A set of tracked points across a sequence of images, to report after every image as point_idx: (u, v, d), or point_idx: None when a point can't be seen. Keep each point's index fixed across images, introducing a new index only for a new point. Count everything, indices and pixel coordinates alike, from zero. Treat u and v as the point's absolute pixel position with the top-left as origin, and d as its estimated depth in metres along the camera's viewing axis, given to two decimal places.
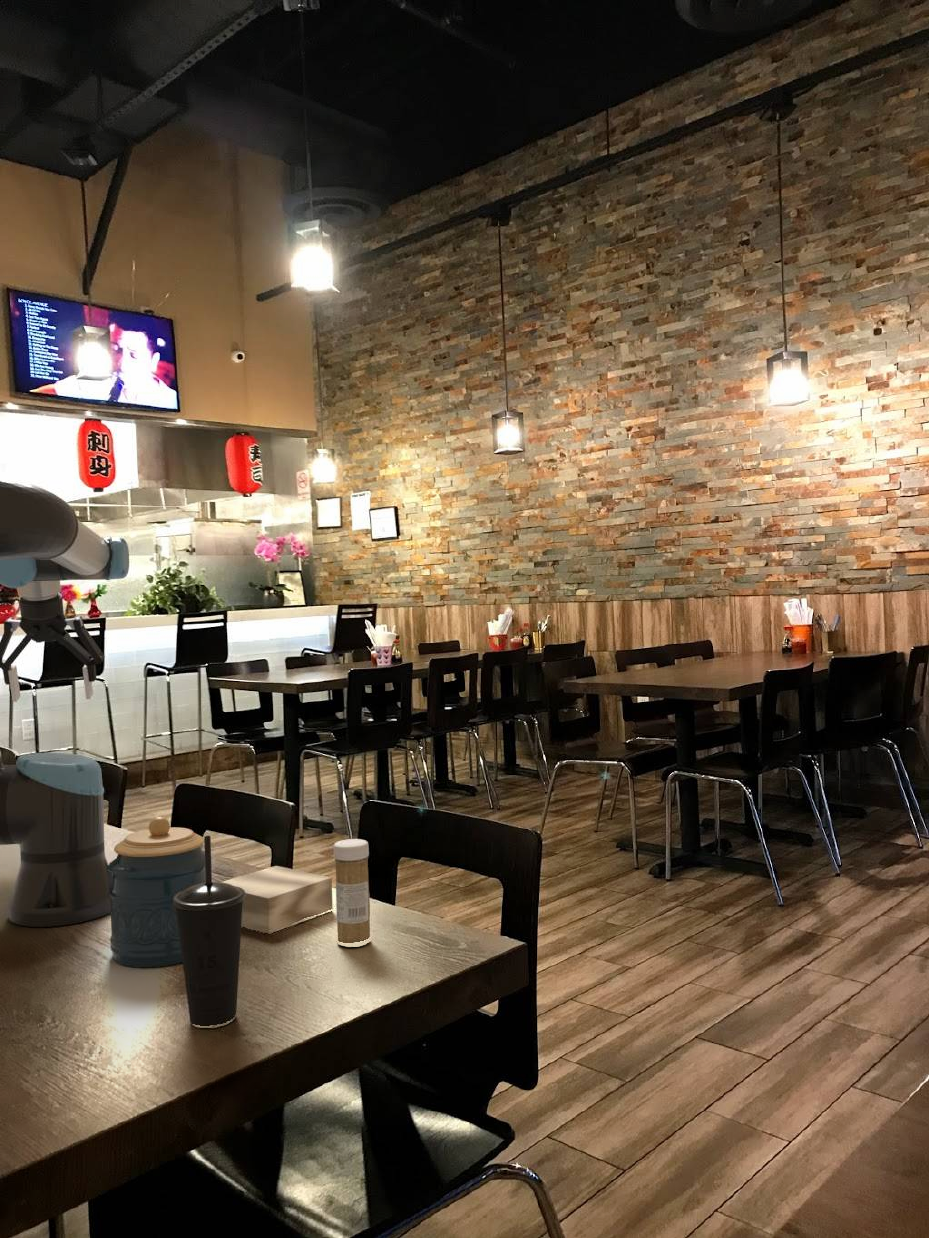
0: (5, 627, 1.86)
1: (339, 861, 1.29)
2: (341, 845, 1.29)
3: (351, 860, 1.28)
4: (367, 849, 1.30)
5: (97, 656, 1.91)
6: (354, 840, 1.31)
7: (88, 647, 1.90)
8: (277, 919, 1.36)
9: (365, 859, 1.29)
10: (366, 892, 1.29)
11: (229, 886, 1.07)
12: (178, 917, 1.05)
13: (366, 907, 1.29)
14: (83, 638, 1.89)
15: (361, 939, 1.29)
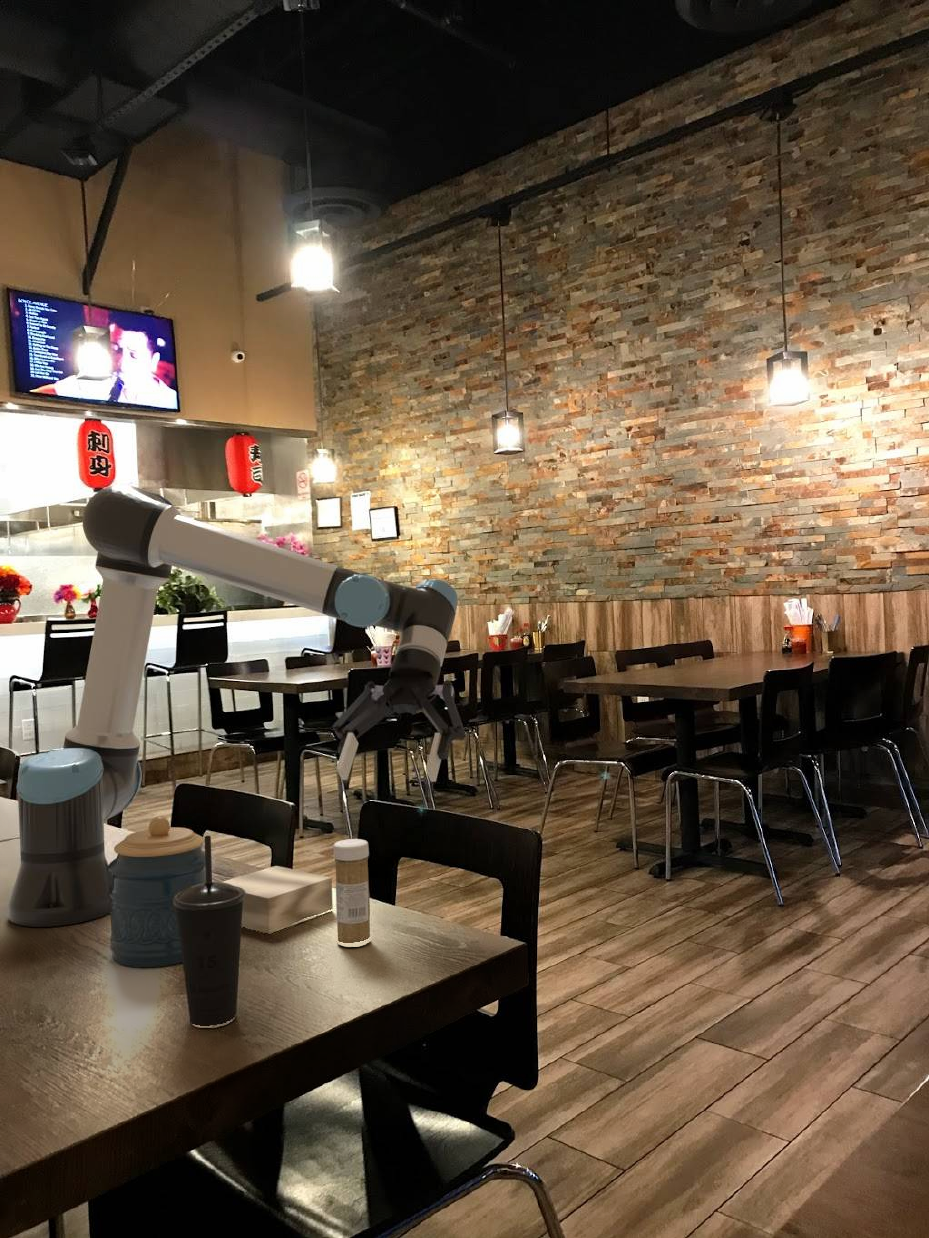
0: (366, 687, 1.51)
1: (339, 861, 1.29)
2: (341, 845, 1.29)
3: (351, 860, 1.28)
4: (367, 849, 1.30)
5: (458, 720, 1.42)
6: (354, 840, 1.31)
7: (450, 710, 1.44)
8: (277, 919, 1.36)
9: (365, 859, 1.29)
10: (366, 892, 1.29)
11: (229, 886, 1.07)
12: (178, 917, 1.05)
13: (366, 907, 1.29)
14: (449, 700, 1.45)
15: (361, 939, 1.29)
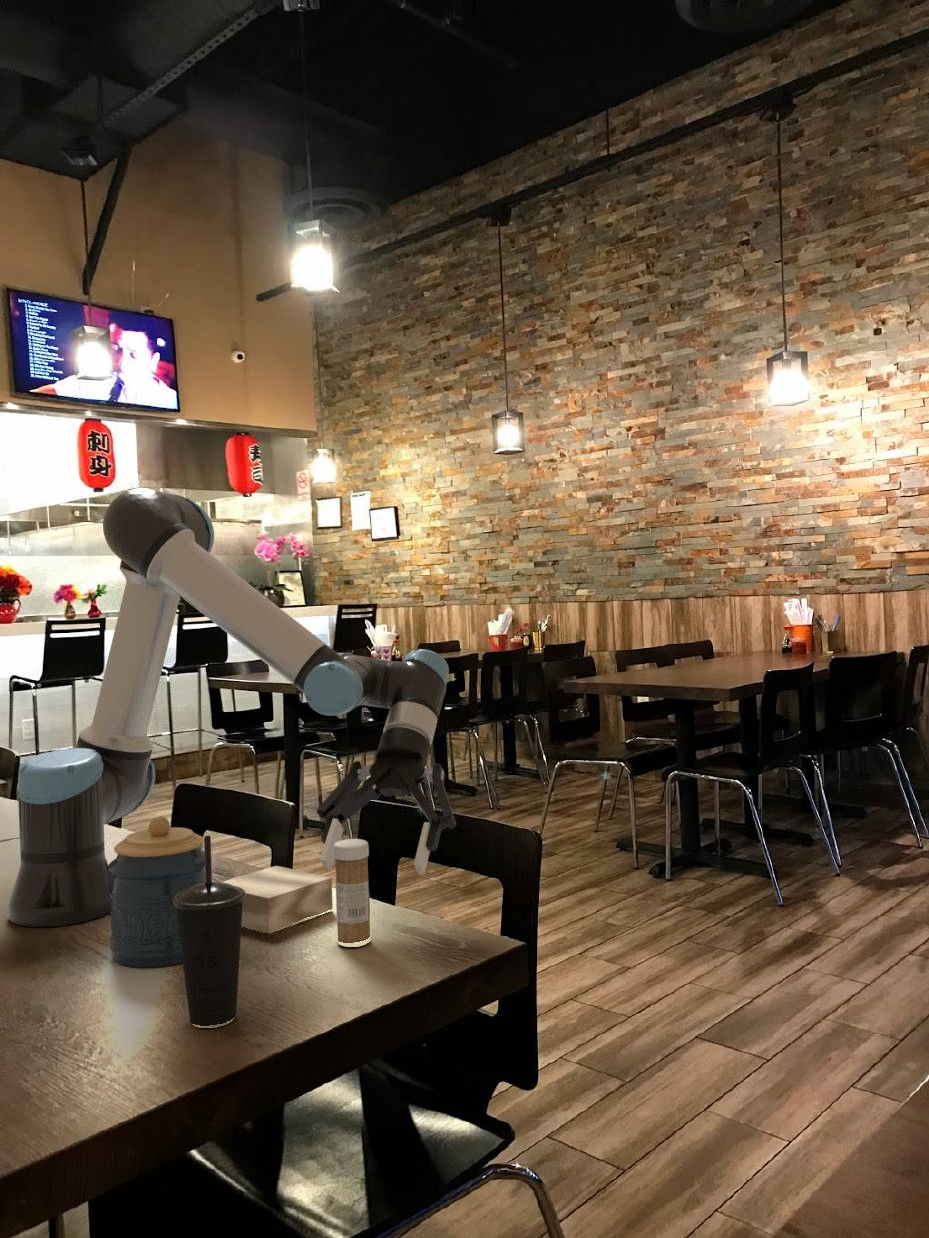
0: (353, 767, 1.44)
1: (339, 861, 1.29)
2: (341, 845, 1.29)
3: (351, 860, 1.28)
4: (367, 849, 1.30)
5: (448, 809, 1.36)
6: (354, 840, 1.31)
7: (440, 797, 1.37)
8: (277, 919, 1.36)
9: (365, 859, 1.29)
10: (366, 892, 1.29)
11: (229, 886, 1.07)
12: (178, 917, 1.05)
13: (366, 907, 1.29)
14: (438, 785, 1.39)
15: (361, 939, 1.29)
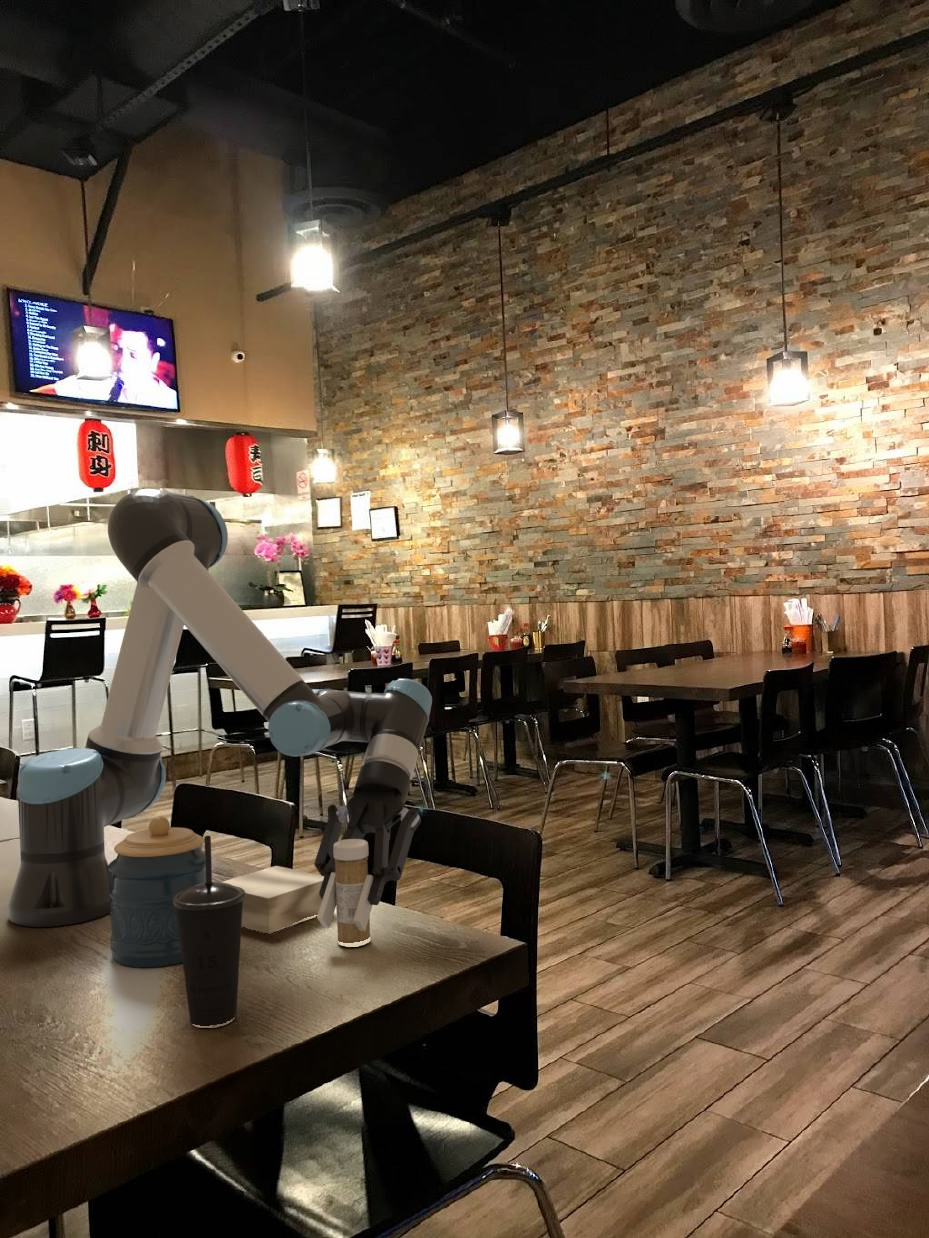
0: (329, 812, 1.38)
1: (339, 861, 1.29)
2: (341, 845, 1.29)
3: (351, 860, 1.28)
4: (367, 849, 1.30)
5: (395, 861, 1.30)
6: (354, 840, 1.31)
7: (396, 845, 1.32)
8: (277, 919, 1.36)
9: (365, 859, 1.29)
10: None
11: (229, 886, 1.07)
12: (178, 917, 1.05)
13: None
14: (402, 832, 1.33)
15: (361, 939, 1.29)
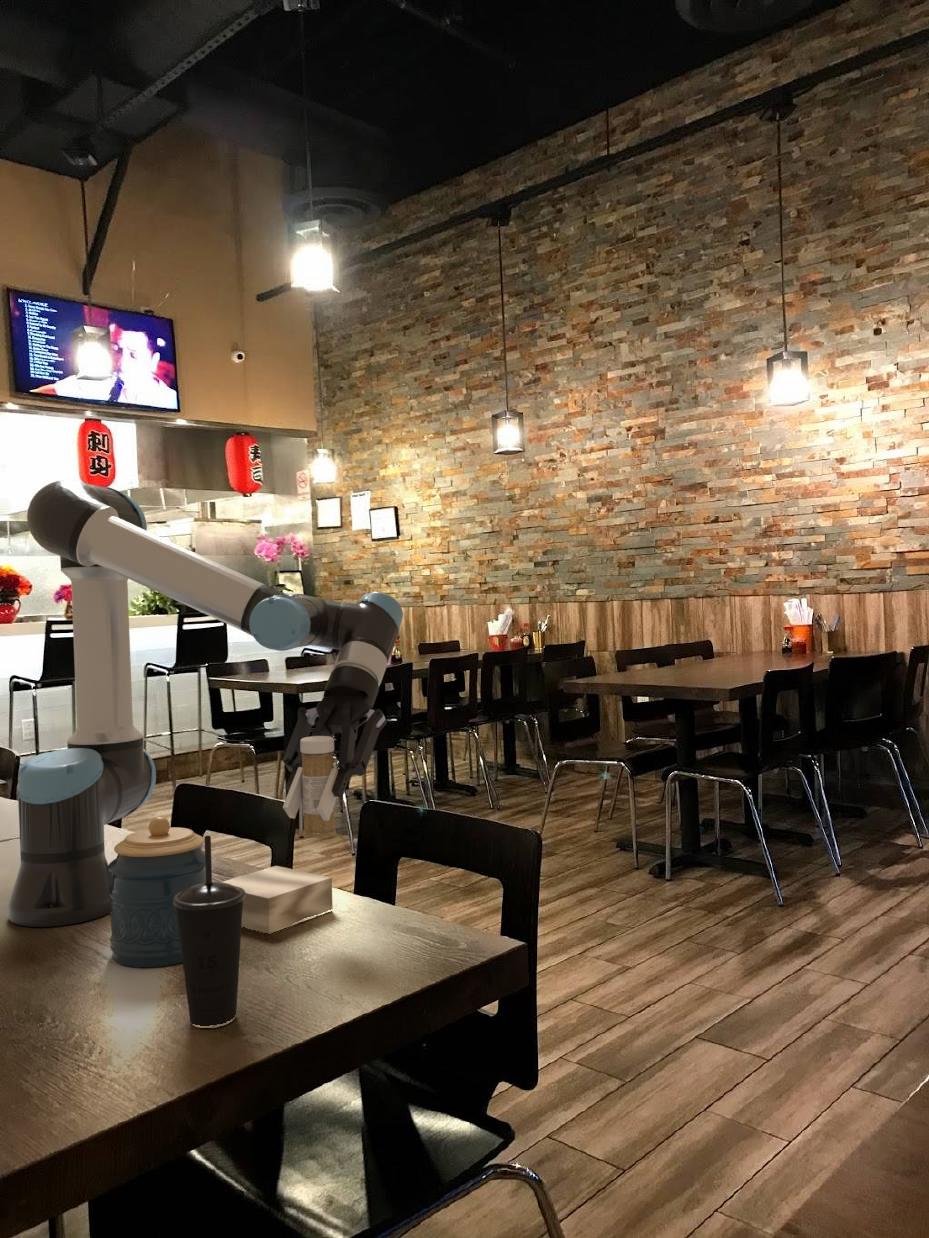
0: (299, 713, 1.43)
1: (305, 755, 1.34)
2: (307, 739, 1.34)
3: (316, 753, 1.33)
4: (332, 744, 1.35)
5: (359, 756, 1.35)
6: (320, 736, 1.36)
7: (361, 742, 1.37)
8: (277, 919, 1.36)
9: (330, 753, 1.35)
10: None
11: (229, 886, 1.07)
12: (178, 917, 1.05)
13: None
14: (367, 731, 1.38)
15: (326, 829, 1.34)
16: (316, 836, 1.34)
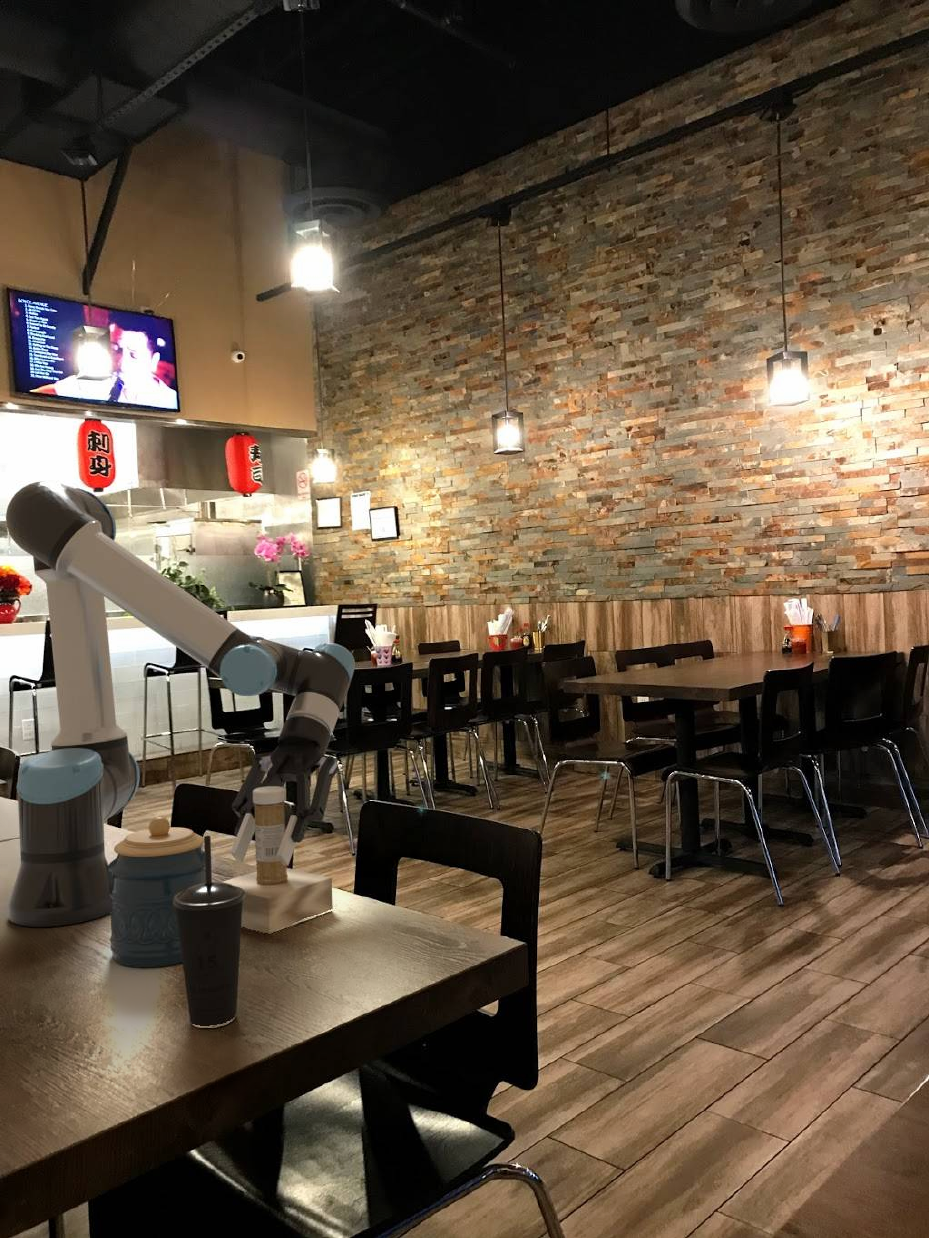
0: (254, 760, 1.51)
1: (257, 805, 1.41)
2: (259, 790, 1.41)
3: (267, 804, 1.41)
4: (283, 794, 1.42)
5: (317, 803, 1.42)
6: (272, 787, 1.44)
7: (317, 789, 1.44)
8: (277, 919, 1.36)
9: (281, 803, 1.42)
10: (282, 833, 1.42)
11: (229, 886, 1.07)
12: (178, 917, 1.05)
13: None
14: (321, 778, 1.45)
15: (277, 876, 1.41)
16: (268, 882, 1.41)
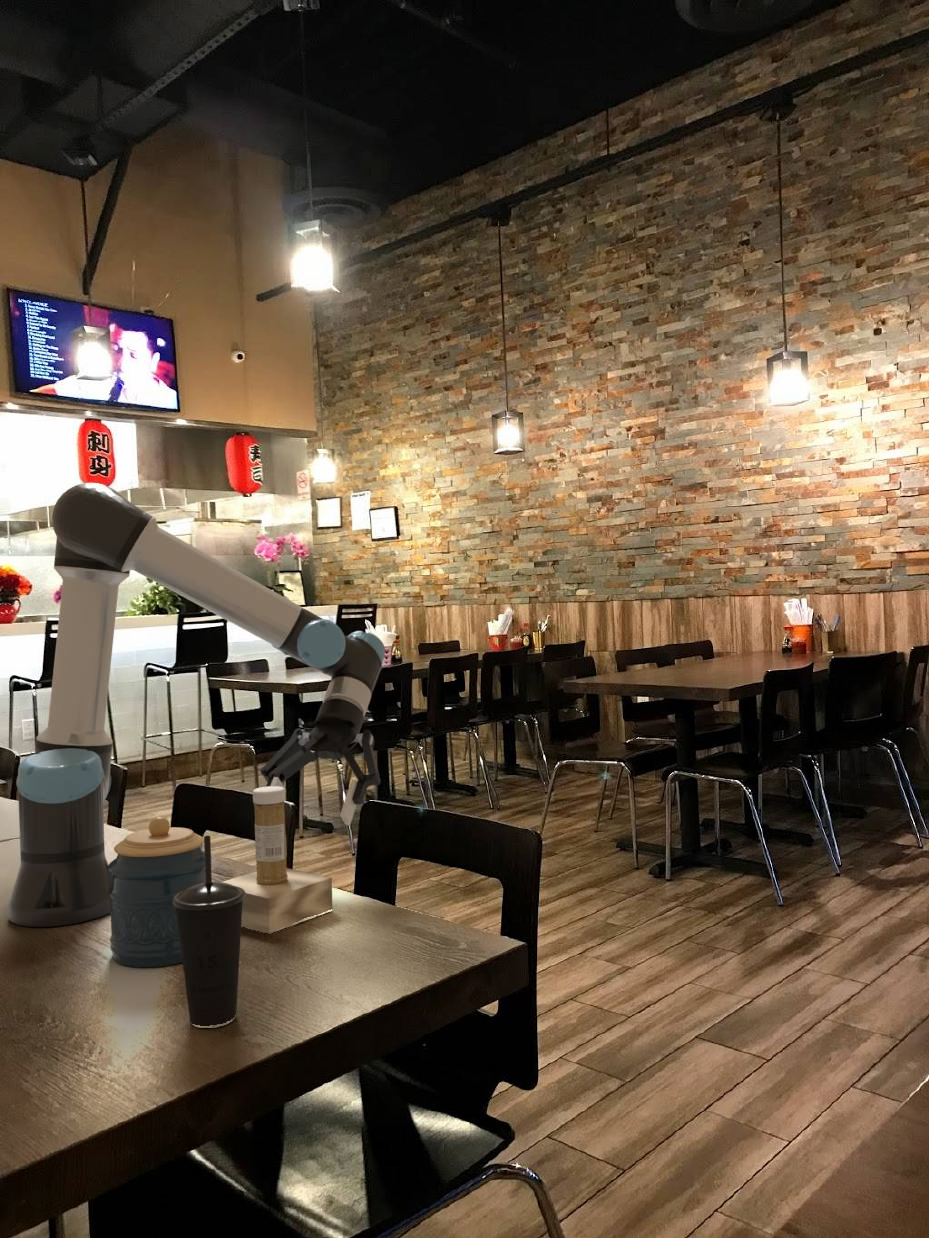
0: (294, 733, 1.64)
1: (257, 805, 1.41)
2: (259, 790, 1.41)
3: (268, 804, 1.41)
4: (283, 794, 1.42)
5: (373, 768, 1.55)
6: (272, 787, 1.44)
7: (367, 758, 1.57)
8: (277, 919, 1.36)
9: (281, 803, 1.42)
10: (282, 833, 1.42)
11: (229, 886, 1.07)
12: (178, 917, 1.05)
13: (282, 847, 1.42)
14: (366, 748, 1.58)
15: (277, 876, 1.41)
16: (268, 882, 1.41)
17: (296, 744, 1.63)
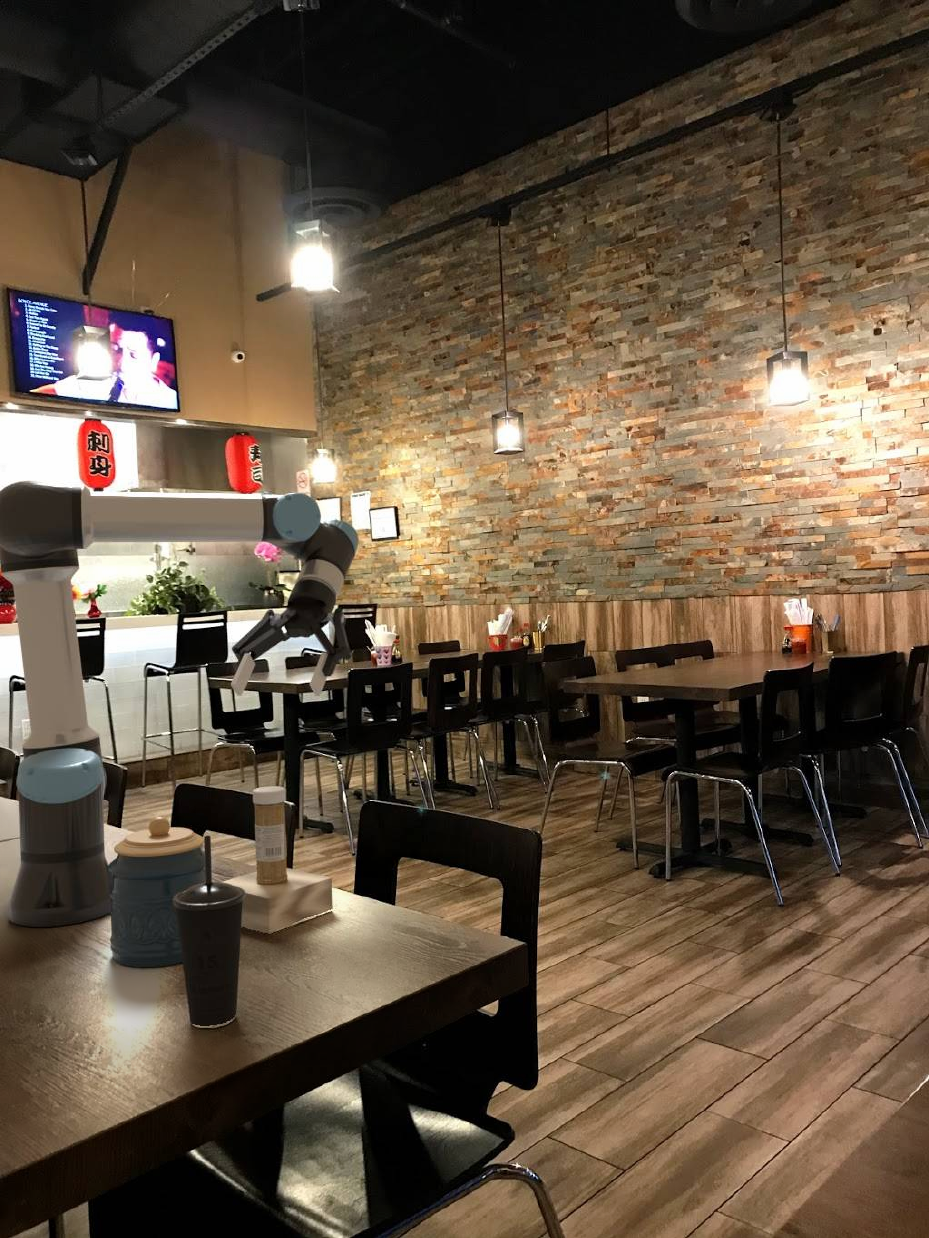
0: (266, 614, 1.64)
1: (257, 805, 1.41)
2: (259, 790, 1.41)
3: (268, 804, 1.41)
4: (283, 794, 1.42)
5: (343, 642, 1.55)
6: (272, 787, 1.44)
7: (338, 633, 1.57)
8: (277, 919, 1.36)
9: (281, 803, 1.42)
10: (282, 833, 1.42)
11: (229, 886, 1.07)
12: (178, 917, 1.05)
13: (282, 847, 1.42)
14: (337, 624, 1.58)
15: (277, 876, 1.41)
16: (268, 882, 1.41)
17: (268, 624, 1.63)
